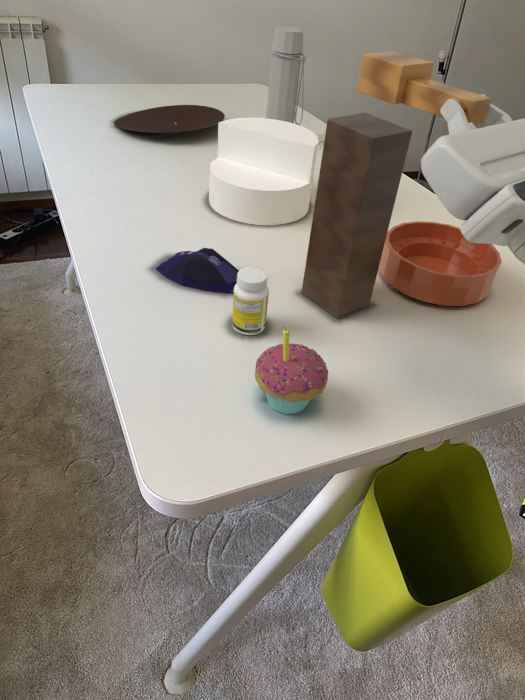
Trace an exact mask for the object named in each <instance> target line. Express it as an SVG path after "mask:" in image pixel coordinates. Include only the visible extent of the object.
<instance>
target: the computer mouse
mask: <svg viewBox="0 0 525 700" xmlns="http://www.w3.org/2000/svg"><path fill="white" fill-rule="evenodd" d="M155 270H156V271H157V272H159V274H161V275H162V276H163V277H164V278H166V279H168V280H170V281H171V282H174V283H176V284H178V285H179V286H181V287H182V286H183V287H187V288H191V289H196V290H200V291H205V292H214V293H223V294H229V293H231V292H234V287H235V285H236V284H237V274H238V272H239V270H240V269H238V268H237V267H236V266H234V265H233V264H232V263H231V262H229V260H227V259H226V258H225V257H224V256H222V255H221V253H219V252H218V251H216V250H215V249H214V248H208V247H203V248H200V249H198V250H196V251H191V250H185V251H179V252H177V253H175V254H174V255H172V256H170V257H168V258H167V259H165V260H164V261H162V262H161V263H160V264H159V265H158V266H157V267H155Z"/></svg>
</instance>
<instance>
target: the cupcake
mask: <svg viewBox="0 0 525 700" xmlns="http://www.w3.org/2000/svg"><path fill="white" fill-rule="evenodd" d="M283 328H284V329H283V330H282V343H280V344H276V345H274V346H271V347H267V349H265V350H264V351H263V352H262V353H261V354H260V355H259V357H258V358H257V359H256V362H255V369H254V378H255V381H256V383H257V385H258V387H259V388H260V390H262V391H263V392H265V396H266V399H267V402H268V405H269V406H270V407H271V408H272V409H273V410H275V411H276V412H278V413H281V414H285V415H294V414H298V413H300V412H302V411H304V410H305V409H306V407H307V405H308V404H309V402H310V401H311V400H312V399H314V398H316V397H317V396H319V395H321V394H323V392H324V391H325V389H326V386H327V383H328V381H329V380H328V379H329V370H328V366H327V363H326V362H325V361H324V359H323V357H321V355H320V354H318V352H317V351H316V350H314V349H313V348H310V347H308V346H305V345H304V344H303V343H300V344H298V343H293V342H291V343H290V330H289V328H287V325H286V324H284V325H283Z"/></svg>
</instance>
